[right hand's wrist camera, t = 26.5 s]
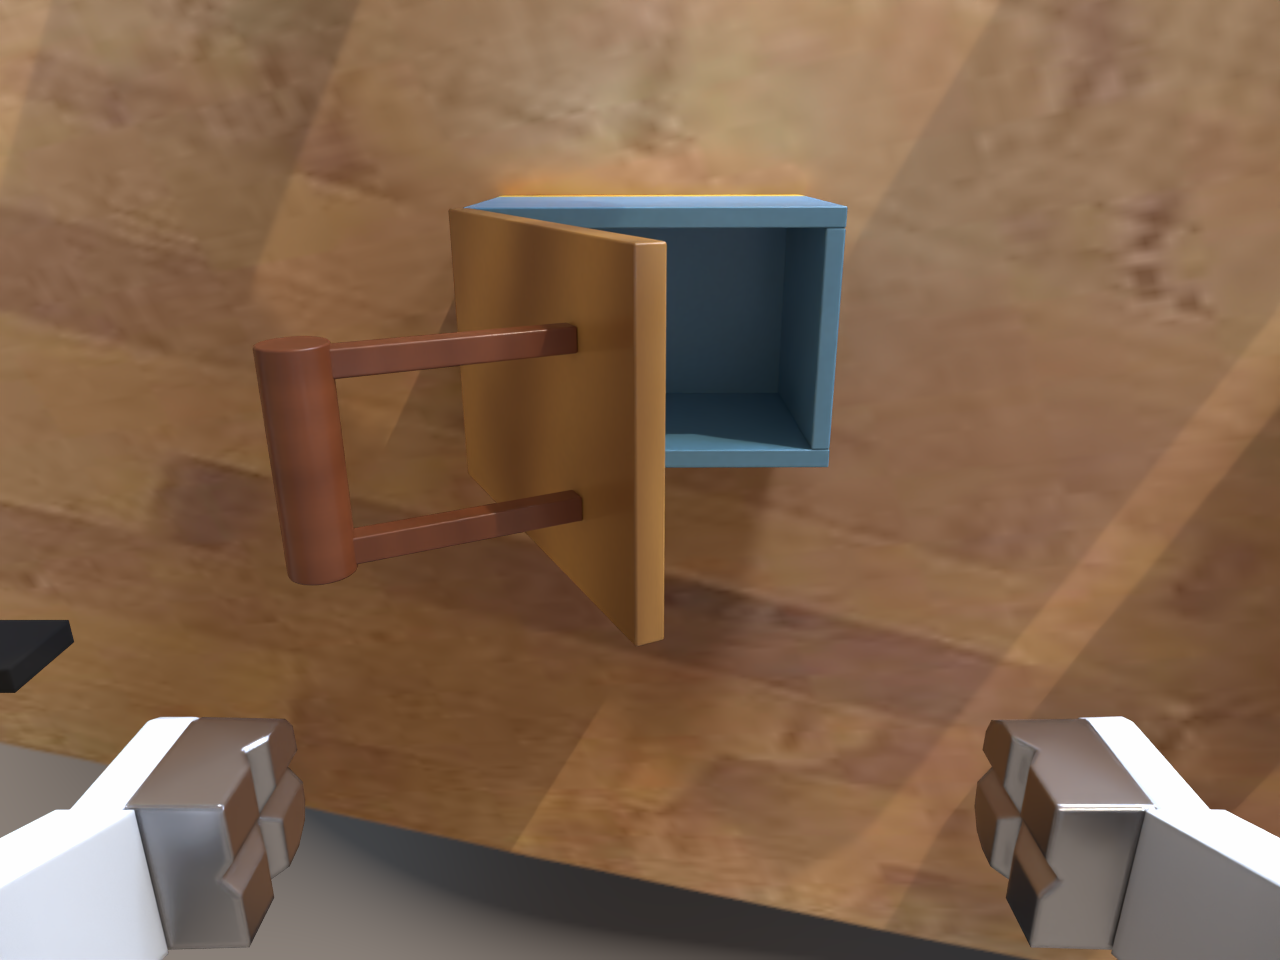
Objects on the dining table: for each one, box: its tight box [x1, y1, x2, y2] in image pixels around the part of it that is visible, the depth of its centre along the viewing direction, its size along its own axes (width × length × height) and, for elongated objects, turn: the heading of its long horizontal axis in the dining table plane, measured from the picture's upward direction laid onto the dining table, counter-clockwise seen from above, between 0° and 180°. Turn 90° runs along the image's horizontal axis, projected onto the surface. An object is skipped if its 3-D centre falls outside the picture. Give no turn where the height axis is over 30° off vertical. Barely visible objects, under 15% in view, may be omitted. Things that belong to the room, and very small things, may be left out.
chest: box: [464, 195, 847, 468], centre depth 38 cm, size 14×10×10 cm
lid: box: [253, 208, 667, 646], centre depth 25 cm, size 14×10×8 cm
